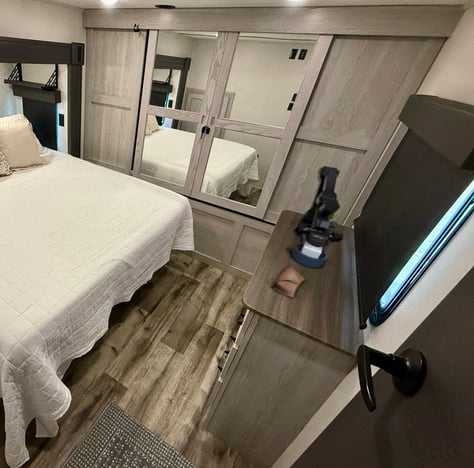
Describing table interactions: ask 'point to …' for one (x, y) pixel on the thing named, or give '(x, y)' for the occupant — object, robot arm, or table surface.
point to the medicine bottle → (313, 247)
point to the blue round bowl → (306, 259)
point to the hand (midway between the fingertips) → (313, 248)
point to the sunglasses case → (288, 282)
